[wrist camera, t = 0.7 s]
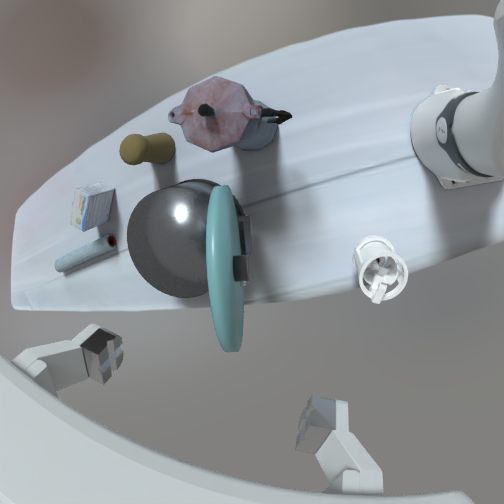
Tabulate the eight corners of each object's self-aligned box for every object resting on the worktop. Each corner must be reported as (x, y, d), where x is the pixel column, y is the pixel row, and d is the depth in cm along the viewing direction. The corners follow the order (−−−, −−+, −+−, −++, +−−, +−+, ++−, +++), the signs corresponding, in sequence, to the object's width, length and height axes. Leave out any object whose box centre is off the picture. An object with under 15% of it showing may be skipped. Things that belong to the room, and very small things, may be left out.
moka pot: (210, 102, 47) (153, 80, 29) (298, 96, 44) (286, 62, 26) (211, 153, 50) (155, 157, 32) (300, 150, 47) (290, 149, 29)
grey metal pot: (252, 174, 50) (235, 180, 40) (260, 274, 56) (247, 302, 46) (148, 184, 55) (115, 193, 45) (162, 273, 61) (135, 296, 51)
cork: (158, 169, 53) (125, 176, 43) (142, 145, 52) (108, 147, 42) (181, 151, 51) (150, 153, 41) (165, 126, 50) (132, 123, 40)
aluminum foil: (65, 269, 68) (57, 274, 65) (55, 247, 67) (47, 251, 64) (119, 245, 62) (110, 250, 58) (108, 218, 60) (98, 222, 57)
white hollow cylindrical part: (344, 258, 52) (352, 297, 38) (356, 221, 49) (371, 249, 35) (379, 269, 51) (397, 309, 37) (392, 233, 48) (418, 264, 34)
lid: (225, 179, 40) (244, 177, 40) (238, 302, 46) (255, 301, 46) (195, 199, 22) (230, 196, 22) (225, 387, 28) (251, 387, 28)
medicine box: (101, 181, 57) (74, 187, 49) (115, 188, 57) (89, 195, 49) (94, 214, 60) (69, 224, 52) (108, 221, 60) (83, 232, 52)
